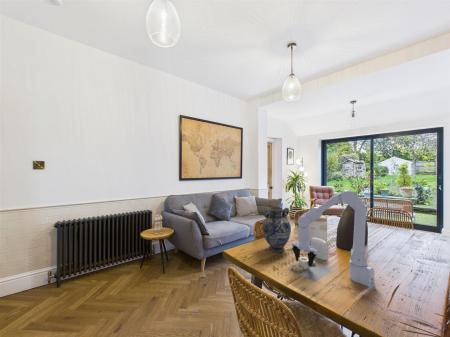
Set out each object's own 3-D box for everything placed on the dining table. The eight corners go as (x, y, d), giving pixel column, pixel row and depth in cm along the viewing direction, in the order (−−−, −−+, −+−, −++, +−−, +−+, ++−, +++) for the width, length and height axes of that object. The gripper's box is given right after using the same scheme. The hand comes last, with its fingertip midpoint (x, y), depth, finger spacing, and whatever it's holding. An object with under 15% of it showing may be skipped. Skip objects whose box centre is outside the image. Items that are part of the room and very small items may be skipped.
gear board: (334, 273, 106) (334, 261, 106) (314, 284, 96) (314, 271, 96) (306, 262, 119) (306, 251, 119) (286, 270, 109) (286, 259, 109)
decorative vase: (272, 257, 125) (271, 211, 126) (255, 247, 142) (255, 206, 143) (298, 251, 134) (298, 208, 135) (280, 242, 151) (280, 204, 152)
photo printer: (329, 261, 119) (329, 240, 120) (323, 263, 118) (323, 241, 118) (314, 255, 129) (314, 235, 129) (309, 256, 127) (309, 236, 127)
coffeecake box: (324, 241, 153) (324, 215, 153) (327, 245, 146) (327, 217, 146) (303, 240, 156) (303, 214, 156) (305, 243, 149) (305, 216, 149)
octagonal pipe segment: (311, 267, 110) (311, 259, 110) (305, 269, 106) (305, 262, 107) (302, 263, 114) (302, 256, 114) (296, 265, 111) (296, 258, 111)
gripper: (288, 235, 114) (288, 260, 114) (312, 243, 102) (312, 270, 102) (295, 233, 118) (295, 257, 118) (319, 240, 106) (319, 266, 106)
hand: (304, 263), depth 110 cm, fingers open, 7 cm apart
